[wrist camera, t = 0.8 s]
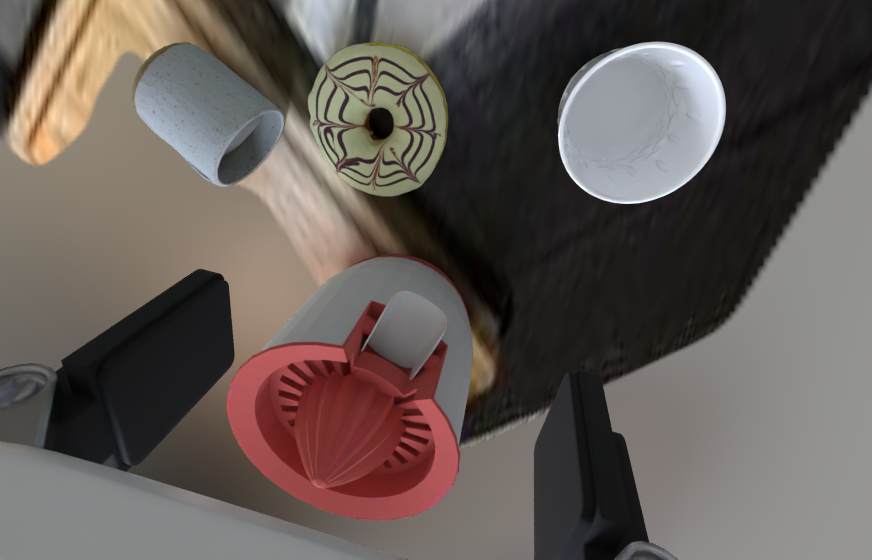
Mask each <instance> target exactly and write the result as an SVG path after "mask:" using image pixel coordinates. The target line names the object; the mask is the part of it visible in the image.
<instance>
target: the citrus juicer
mask: <svg viewBox="0 0 872 560" xmlns="http://www.w3.org/2000/svg"><path fill="white" fill-rule="evenodd" d="M472 357H473V346H472V335H471V329H470V323H469V318H468V311H467V309H466V306H465V304H464V301H463V299H462V297H461V295H460V293H459V292H458V290H457V288H456V287H455V285H454V284H453V282H452V281H451V280H450V279H449V278H448V277H447V275H446V274H445V273H444V272H443V271H441V270H440V269H438V268H437V267H436V266H434V265H433V264H431V263H429V262H427V261H425V260H423V259H420V258H417V257H413V256H410V255H401V254H393V255H381V256H376V257H373V258H369V259H365V260H363V261H361V262H359V263H357V264H355V265H353V266H351V267H349V268H347V269H346V270H344V271H342V272H340V273H338V274H337V275H335V276H334V277H332V278H331V279H329V280H328V281H327V282H325V283H324V284H323V285H322V286H321V287H320V288H319V289H318V290H317V291H316V292H314V293H313V294H312V295H311V296H310V297H309V298H308V299H307V300H306V301H305V302H304V303H303V304H302V305H301V306H300V308H299V309H298V310H297V311H296V312H295V313H294V314H293V316H292V317H291V318H290V319H289V320H288V321H287V322H286V323H285V324H284V326H283V327H282V328H281V329H280V330H279V331H278V332H277V334H276V335H275V336H274V337H273V338H272V339H271V340H270V342H268V344H267V345H266V346H265V347H264V348H263V349H262V350H261V351H260V352H259V353H257V354H255V355H253V356H252V357H251V358H250V359H249V360H248V361H246V362H245V363H244V364H243V365H242V366H241V367H240V368H239V370H238V371H237V373H236V375H235V376H234V378H233V379H232V382H231V386H230V389H229V393H228V397H227V411H228V417H229V421H230V425H231V429H232V432H233V434H234V436H235V437H236V439H237V441H238V443H239V445H240V447H241V448H242V450H243V451H244V453H245V454H246V455H247V457H248V458H249V459H250V461H251V462H252V463H253V464H254V465H255V466H256V467H257V468H258V469H259V470H260V471H261V472H262V473H263V474H264V475H265V476H266V477H267V478H269V479H270V480H271V481H272V482H274V483H275V484H276V485H278V486H279V487H280V488H281V489H283V490H285V491H286V492H288V493H290V494H291V495H293V496H295V497H296V498H298V499H300V500H302V501H304V502H306V503H308V504H310V505H313V506H315V507H317V508H319V509H323V510H326V511H329V512H332V513H334V514H337V515H343V516H347V517H352V518H356V519H366V520H367V519H368V520H394V519H400V518H405V517H409V516H414V515H416V514H418V513H421V512H423V511H425V510H428V509H429V508H431V507H432V506H434V505H435V504H436V503H438V502H439V501H440V500H442V498H443V497H444V496H445V495H446V494H447V492H448V491H449V490H450V489H451V487H452V486H453V484H454V481H455V479H456V476H457V474H458V471H459V461H460V451H459V440H460V435H461V429H462V424H463V418H464V413H465V408H466V402H467V397H468V391H469V386H470V379H471V368H472Z"/></svg>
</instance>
